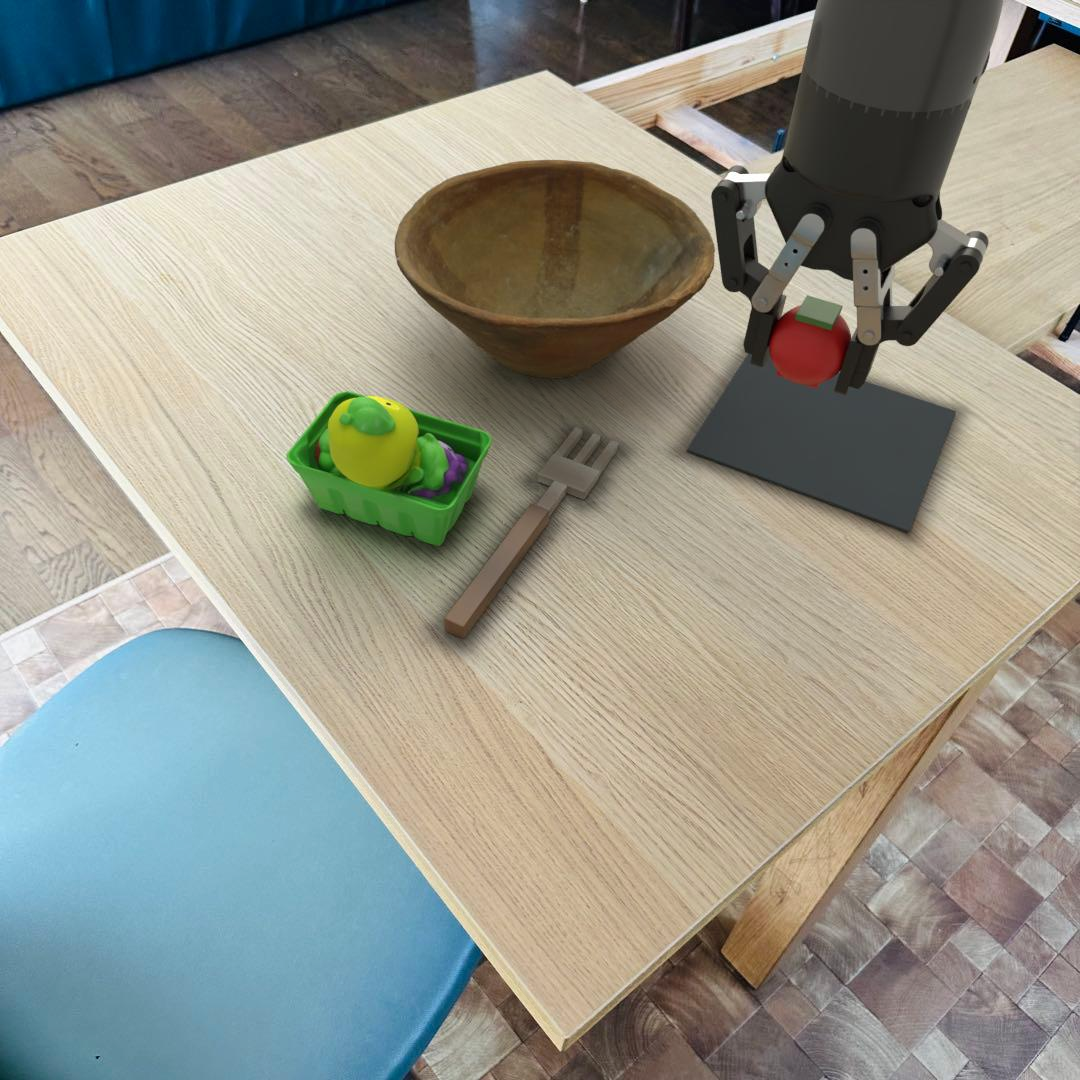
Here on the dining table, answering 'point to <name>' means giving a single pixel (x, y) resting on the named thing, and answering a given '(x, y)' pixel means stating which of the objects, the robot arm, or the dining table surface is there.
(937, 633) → the dining table surface
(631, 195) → the bowl
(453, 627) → the fork
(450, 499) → the fruit basket
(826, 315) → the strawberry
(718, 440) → the placemat
